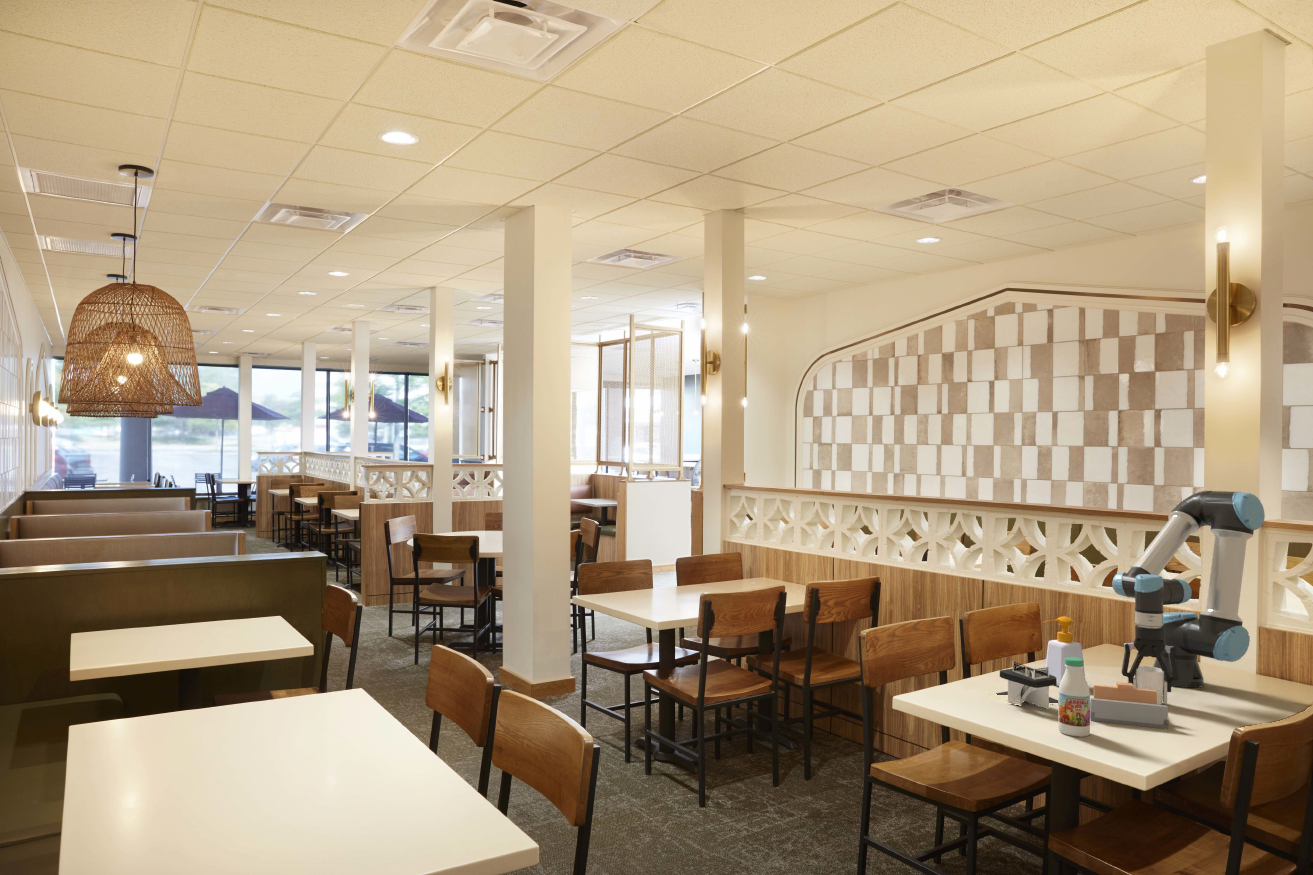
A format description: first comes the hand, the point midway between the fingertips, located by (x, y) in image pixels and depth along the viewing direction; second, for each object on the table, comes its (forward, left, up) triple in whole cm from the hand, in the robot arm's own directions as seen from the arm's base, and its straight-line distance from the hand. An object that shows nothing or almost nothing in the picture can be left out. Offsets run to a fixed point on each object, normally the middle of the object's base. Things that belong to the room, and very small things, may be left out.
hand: (1149, 700), depth 265 cm
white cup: (0, 0, -1) cm, 1 cm away
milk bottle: (+24, +41, -1) cm, 48 cm away
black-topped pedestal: (+35, +19, -1) cm, 40 cm away
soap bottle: (+24, -12, -1) cm, 27 cm away
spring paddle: (+9, +19, +1) cm, 21 cm away
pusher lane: (+9, +18, -1) cm, 20 cm away
